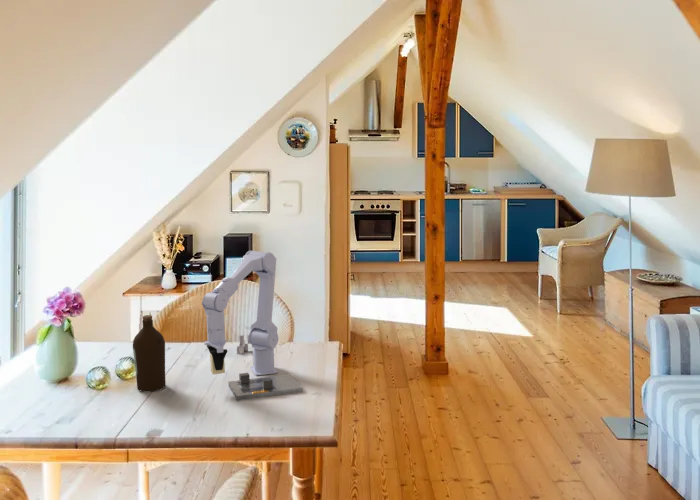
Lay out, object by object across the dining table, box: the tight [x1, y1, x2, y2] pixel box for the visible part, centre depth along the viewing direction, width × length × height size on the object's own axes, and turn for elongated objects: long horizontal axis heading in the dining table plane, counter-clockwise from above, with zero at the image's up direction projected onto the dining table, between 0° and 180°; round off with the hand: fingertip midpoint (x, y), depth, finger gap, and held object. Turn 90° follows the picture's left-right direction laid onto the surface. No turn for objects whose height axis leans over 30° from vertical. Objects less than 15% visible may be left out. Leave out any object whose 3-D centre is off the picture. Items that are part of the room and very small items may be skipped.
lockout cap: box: [209, 353, 226, 375], centre depth 252 cm, size 5×5×6 cm
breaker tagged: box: [262, 378, 273, 389], centre depth 251 cm, size 2×3×3 cm
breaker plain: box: [238, 372, 251, 384], centre depth 256 cm, size 2×3×3 cm
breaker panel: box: [227, 373, 303, 401], centre depth 254 cm, size 15×22×2 cm
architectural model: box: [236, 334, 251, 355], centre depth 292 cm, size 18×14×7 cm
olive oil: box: [132, 314, 166, 392], centre depth 256 cm, size 11×11×25 cm
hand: (217, 367), depth 252 cm, fingers closed on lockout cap, 4 cm apart
